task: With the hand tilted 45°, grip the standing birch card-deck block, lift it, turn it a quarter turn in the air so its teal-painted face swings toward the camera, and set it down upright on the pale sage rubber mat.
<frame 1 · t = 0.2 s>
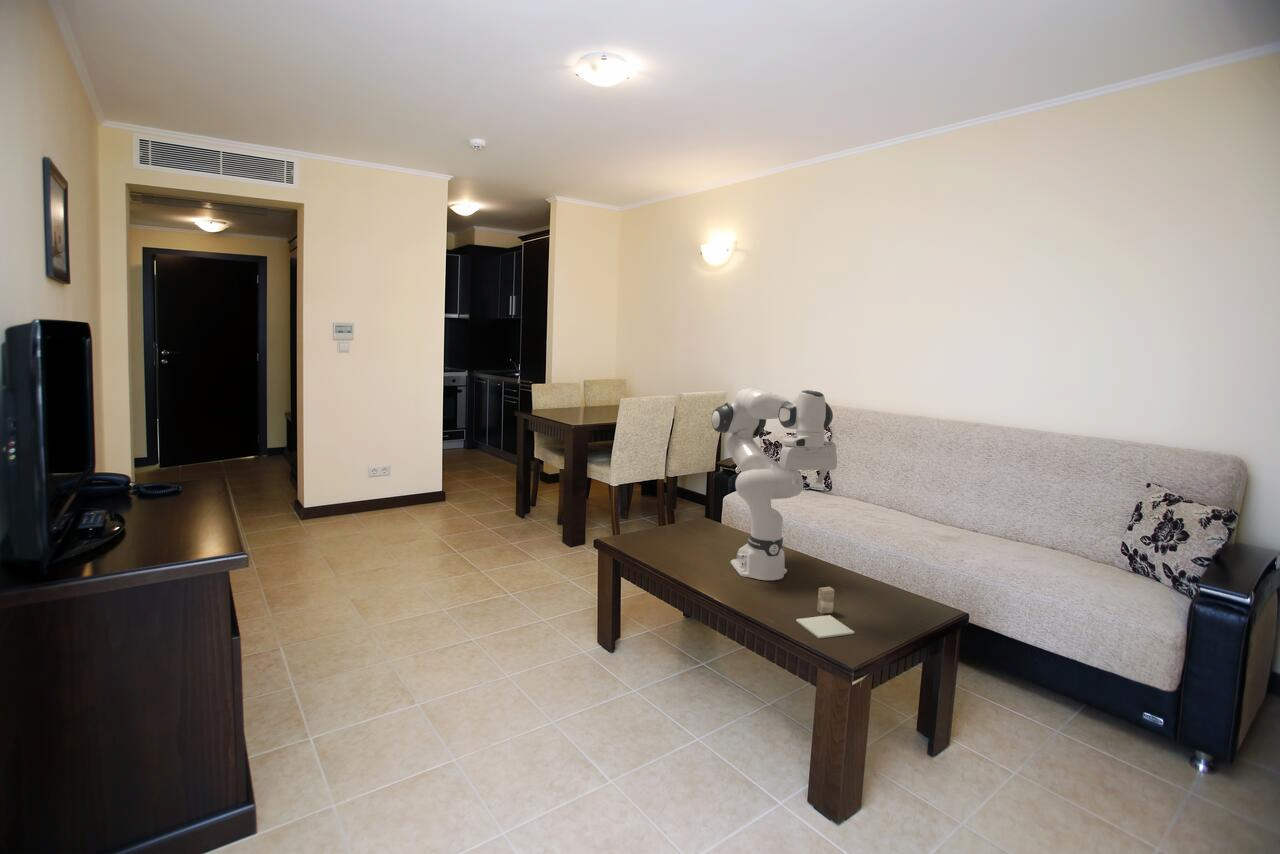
hand: (807, 483, 211), 39 cm above the table, tool pointing down, fingers open, 8 cm apart
card deck block: (824, 611, 206), on the table
sage mat: (824, 627, 194), on the table
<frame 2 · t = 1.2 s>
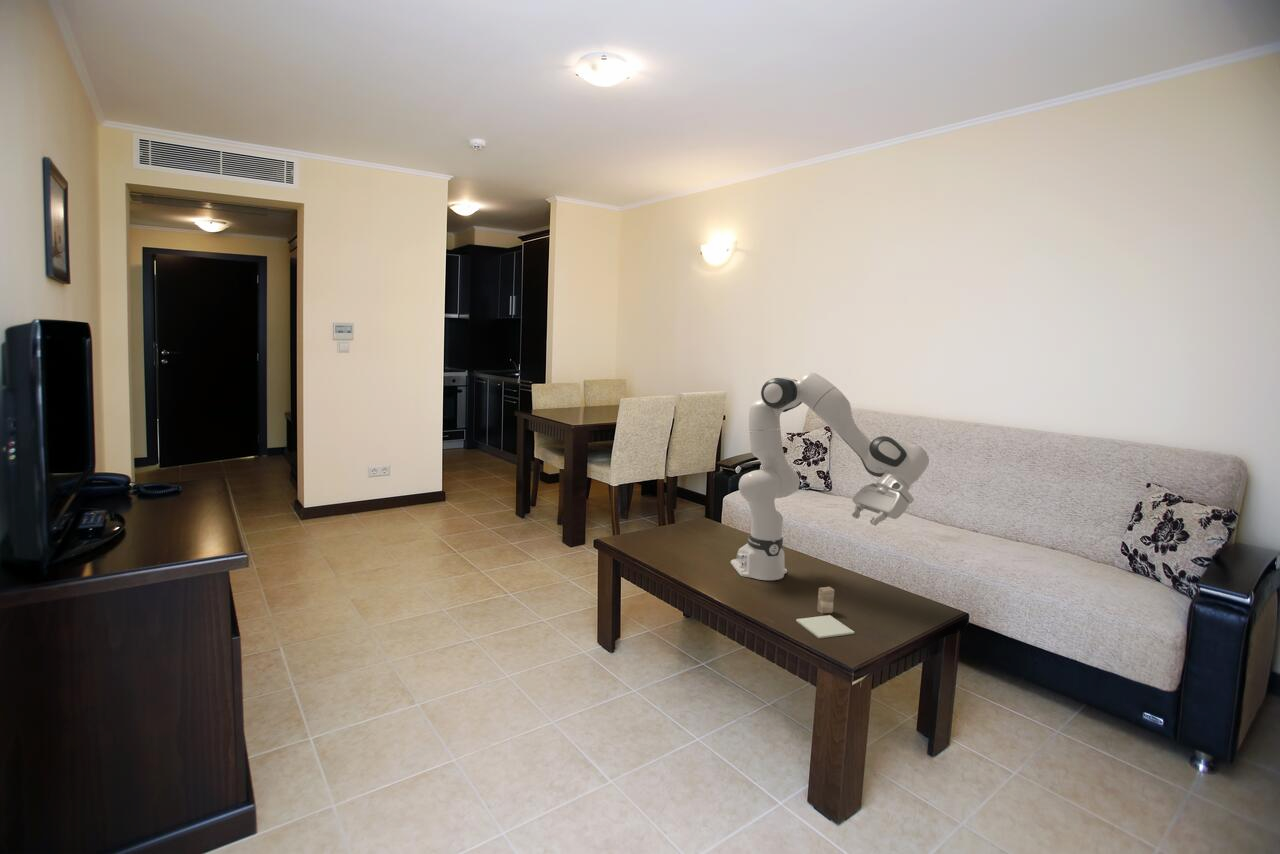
hand: (863, 520, 205), 29 cm above the table, tool tilted 45°, fingers open, 8 cm apart
nothing on the table moved.
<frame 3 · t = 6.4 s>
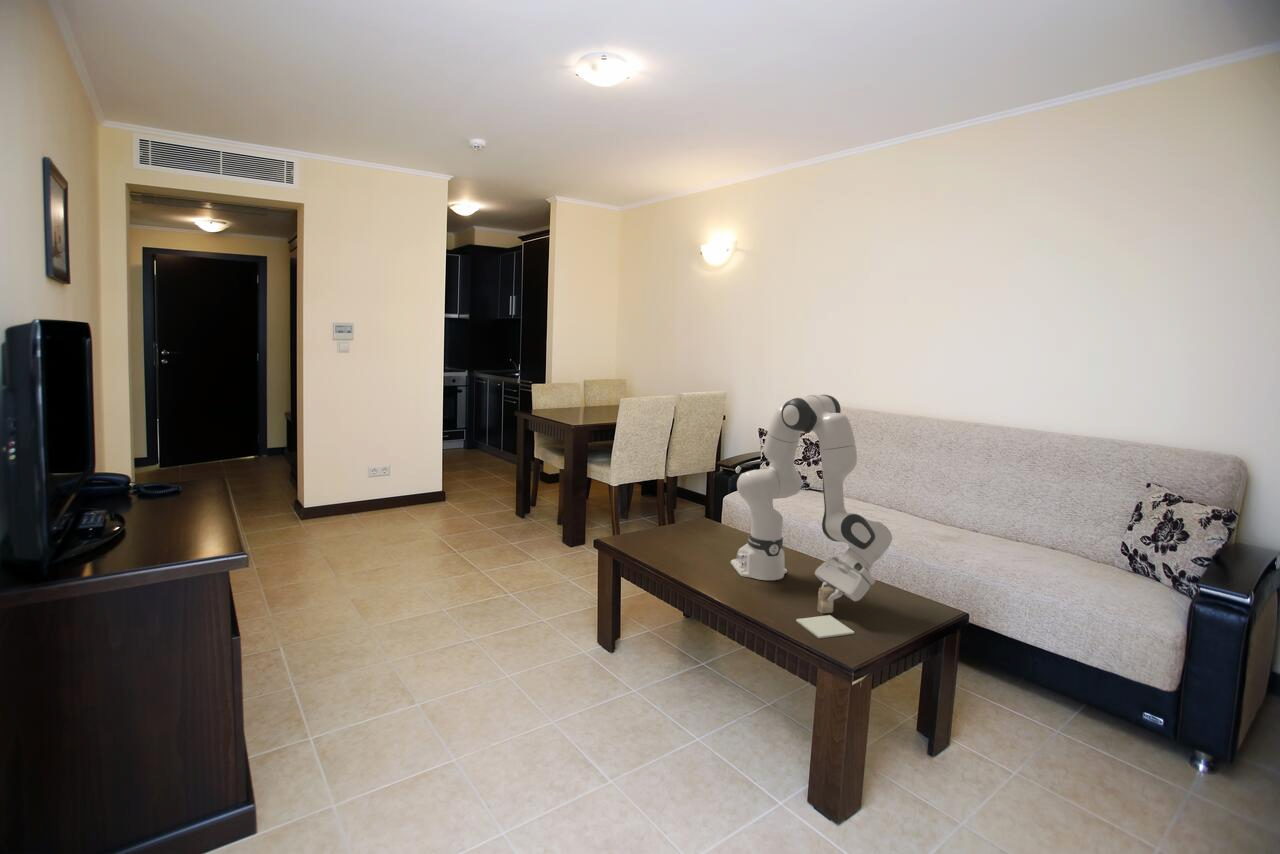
hand: (824, 598, 205), 4 cm above the table, tool tilted 45°, fingers closed on card deck block, 3 cm apart
card deck block: (824, 611, 206), on the table, touching gripper
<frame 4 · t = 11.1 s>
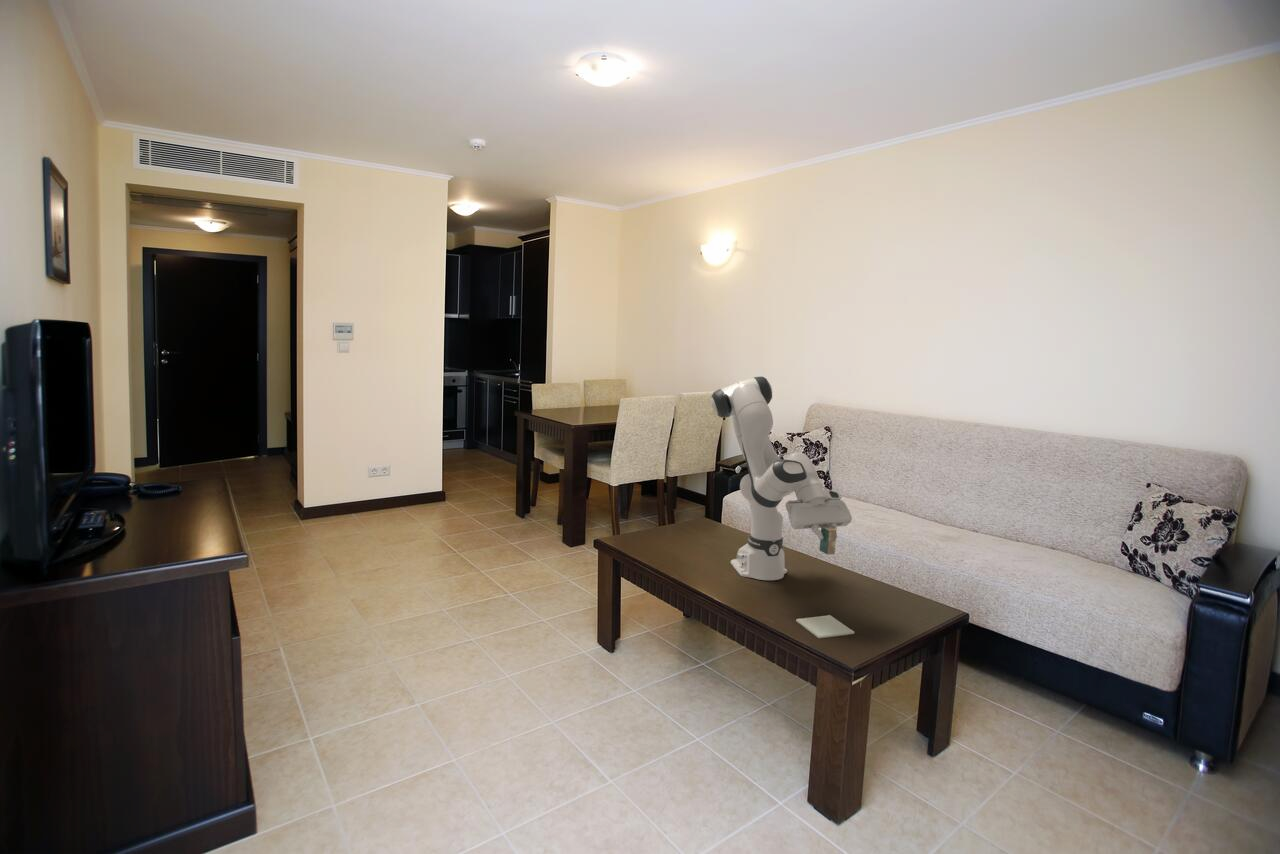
hand: (828, 538, 197), 25 cm above the table, tool tilted 45°, fingers closed on card deck block, 3 cm apart
card deck block: (827, 552, 198), point 21 cm above the table, touching gripper
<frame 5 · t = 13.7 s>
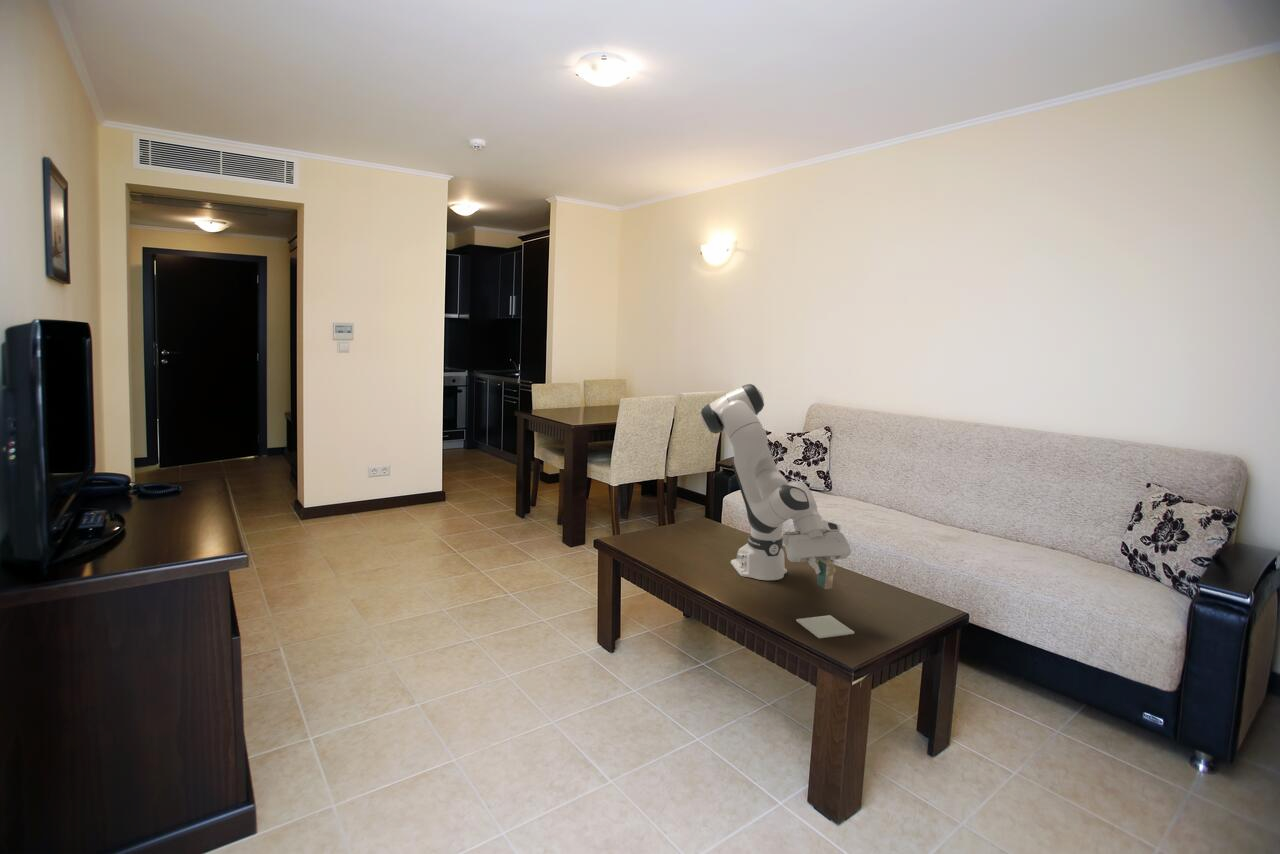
hand: (826, 572, 191), 17 cm above the table, tool tilted 45°, fingers closed on card deck block, 3 cm apart
card deck block: (824, 586, 192), point 13 cm above the table, touching gripper
when the fingers open (6 cm above the table, at t = 16.0 s): card deck block drops 1 cm, resting on sage mat.
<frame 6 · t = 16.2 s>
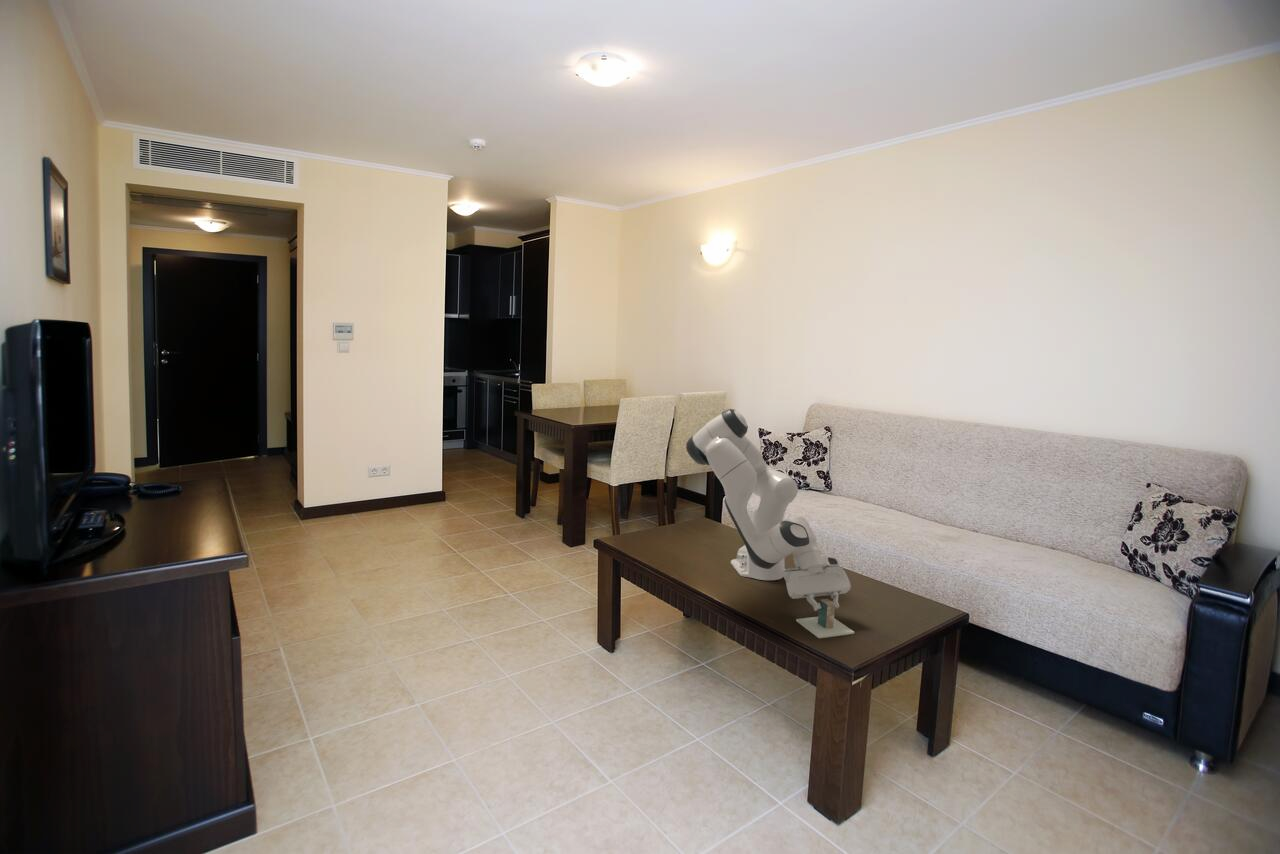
hand: (827, 609, 193), 6 cm above the table, tool tilted 45°, fingers open, 5 cm apart
card deck block: (825, 625, 194), point 1 cm above the table, touching sage mat
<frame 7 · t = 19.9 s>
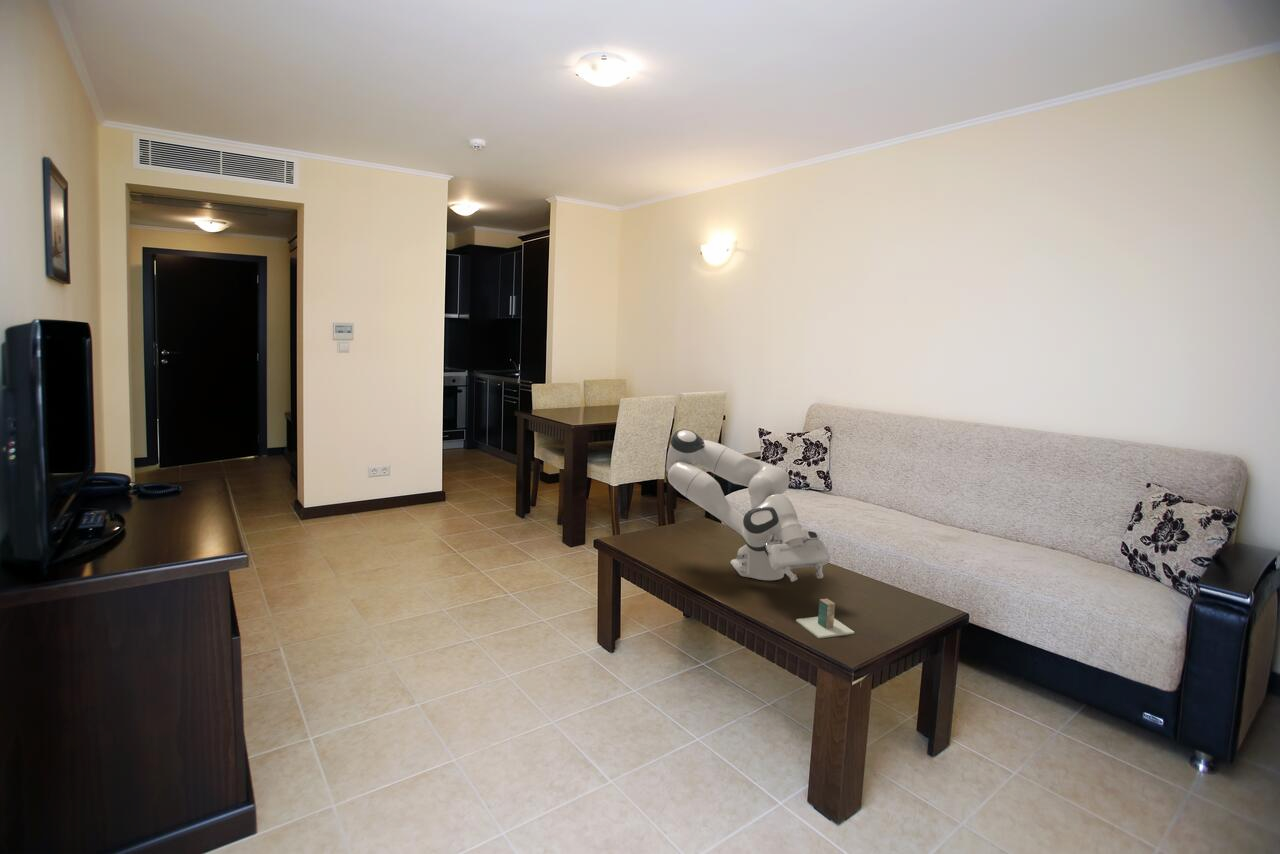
hand: (807, 579, 203), 11 cm above the table, tool tilted 45°, fingers open, 8 cm apart
nothing on the table moved.
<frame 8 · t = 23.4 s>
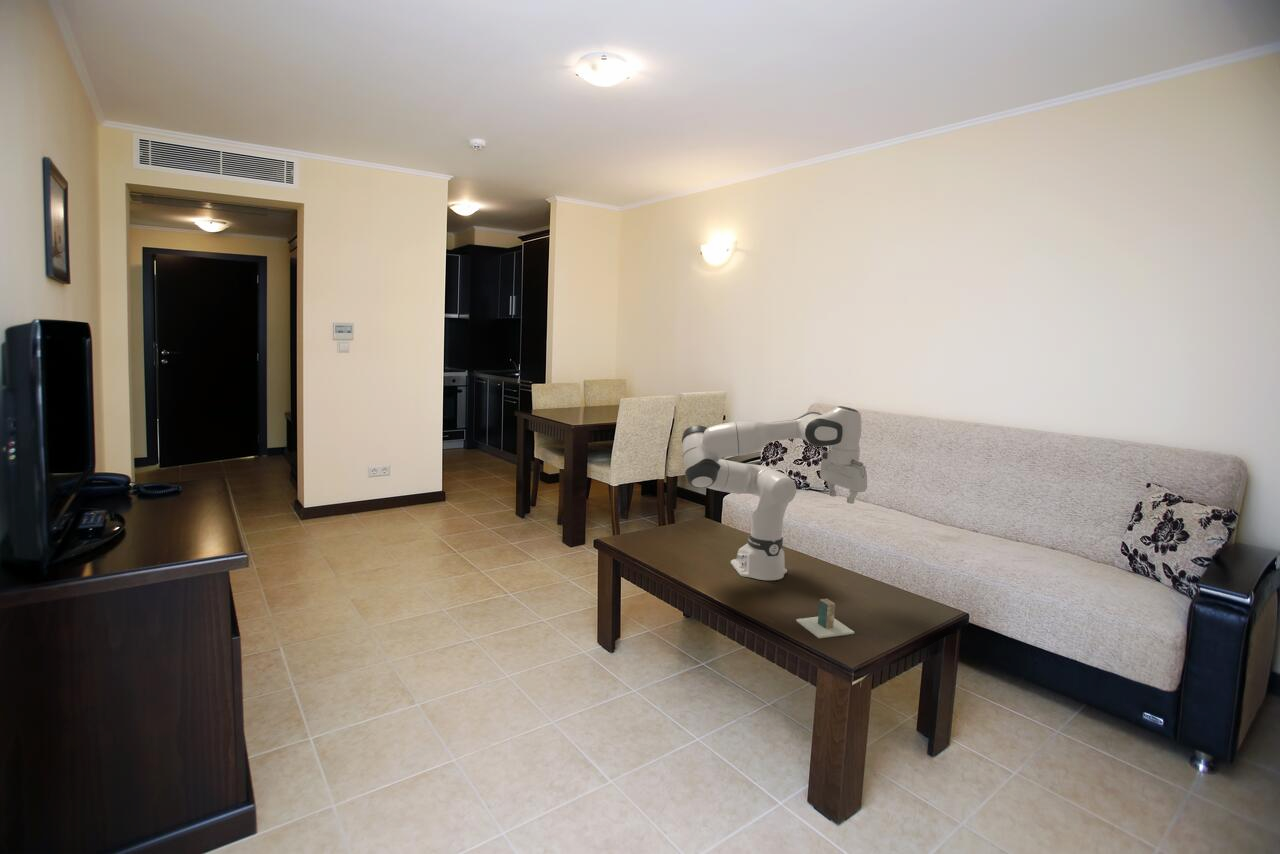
hand: (841, 499, 210), 34 cm above the table, tool pointing down, fingers open, 8 cm apart
nothing on the table moved.
at the end: card deck block inside the target area on the sage mat (0.2 cm from its centre), point 0.6 cm above the sage mat's base; card deck block tilted 0°; the gripper is holding nothing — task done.
